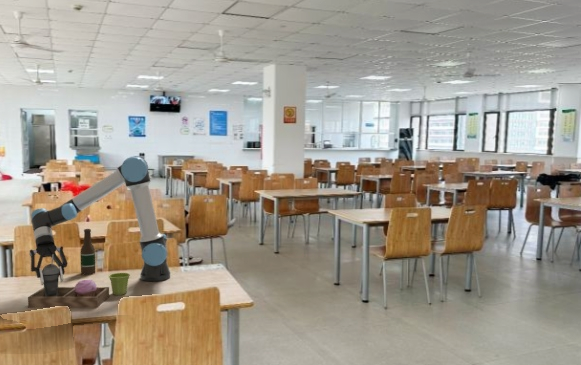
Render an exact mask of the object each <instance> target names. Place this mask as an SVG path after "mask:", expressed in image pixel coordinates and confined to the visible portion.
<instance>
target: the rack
mask: <svg viewBox="0 0 581 365" xmlns="http://www.w3.org/2000/svg"><path fill="white" fill-rule="evenodd" d="M96 287H97V289H96V291H95V295H94V297H78V296H77V292H75V286H58V294H57V297H45V292H44V287H42V288H41V289H39V290H37V291H36V292H34V293H32V294H31V295H30V296H28V297H27V307H28V308H30V309H31V308H37V309H38V308H40V309H41V308H43V309H44V308H46V307H55V306H68V307H70V309H71V308H73V309H75V308H76V309H78V308H79V309H81V308H82V309H86V308H87V309H91V308H93V309H94V308H95V309H97V308H99V307H100V306H101V305H102V304H103V303H104V302H105V301H107V300H108V299H109V297H110V287H108V286H106V287H105V286H96Z"/></svg>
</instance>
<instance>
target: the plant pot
mask: <svg viewBox="0 0 581 365" xmlns="http://www.w3.org/2000/svg"><path fill="white" fill-rule="evenodd" d="M130 277H131V274H130V273H128V272H116V273H111V274H109V275H108V278H109V280H110V285H111V290H112V294H113V295H116V296H121V295H124V294H127V292H128V291H127V290H128V285H129V284H128V283H129V278H130Z"/></svg>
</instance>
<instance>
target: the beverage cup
mask: <svg viewBox="0 0 581 365" xmlns="http://www.w3.org/2000/svg"><path fill="white" fill-rule="evenodd" d="M53 256H54V254H52V258H51V263H50V264H46V265H44V267H43V268H42V274H43V280H44V283H43V288H44V292H45V297H57V294H58V287H59V281H60V275H59V273H60V272H59V266H58V265H57V264H54V260H53Z"/></svg>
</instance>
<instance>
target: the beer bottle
mask: <svg viewBox="0 0 581 365" xmlns="http://www.w3.org/2000/svg"><path fill="white" fill-rule="evenodd" d="M83 233H84V235H83V237H84V238H83V244H82V246H81V247H80V273H81V274H80V275H82V274H84V275H83V276H89V274H91V275H93V273H94V274H96V248H95V246H94V245H93V244H92V235H91V233H92V229H90V228H86V229H85V228H84V229H83Z"/></svg>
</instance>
